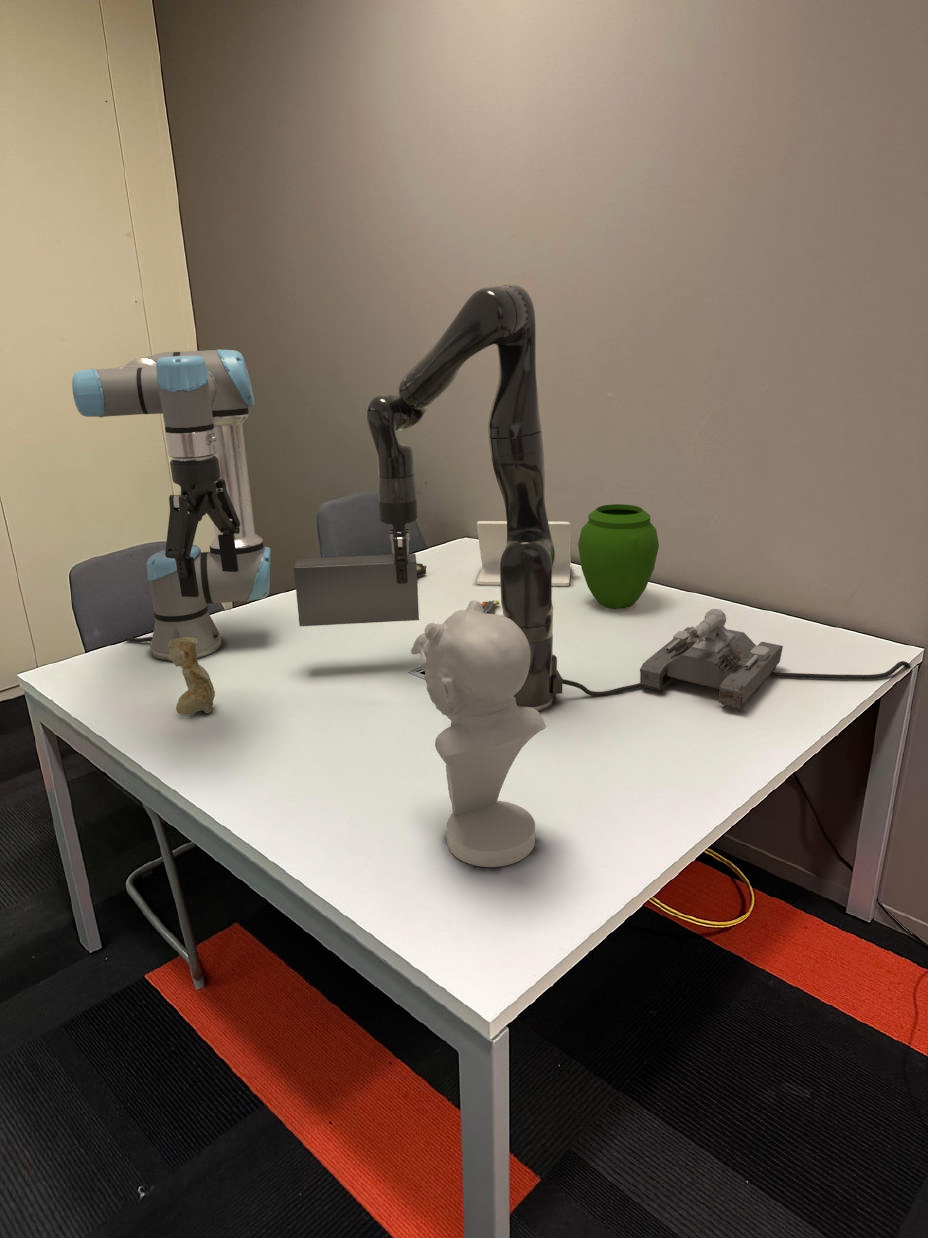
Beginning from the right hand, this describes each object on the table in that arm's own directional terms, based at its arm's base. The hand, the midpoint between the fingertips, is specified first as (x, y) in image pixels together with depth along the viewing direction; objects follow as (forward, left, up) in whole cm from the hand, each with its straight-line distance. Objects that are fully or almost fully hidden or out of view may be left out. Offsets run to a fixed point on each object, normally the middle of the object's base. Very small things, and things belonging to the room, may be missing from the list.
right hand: (402, 577), depth 175 cm
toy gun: (-27, -18, -20) cm, 38 cm away
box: (+8, -4, -8) cm, 12 cm away
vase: (-61, -6, -20) cm, 64 cm away
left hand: (+40, +12, +10) cm, 43 cm away
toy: (-49, +39, -20) cm, 66 cm away
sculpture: (+44, -2, -20) cm, 48 cm away
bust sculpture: (+18, +60, -20) cm, 65 cm away
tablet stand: (-55, -39, -20) cm, 71 cm away
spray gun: (-24, -59, -20) cm, 67 cm away
